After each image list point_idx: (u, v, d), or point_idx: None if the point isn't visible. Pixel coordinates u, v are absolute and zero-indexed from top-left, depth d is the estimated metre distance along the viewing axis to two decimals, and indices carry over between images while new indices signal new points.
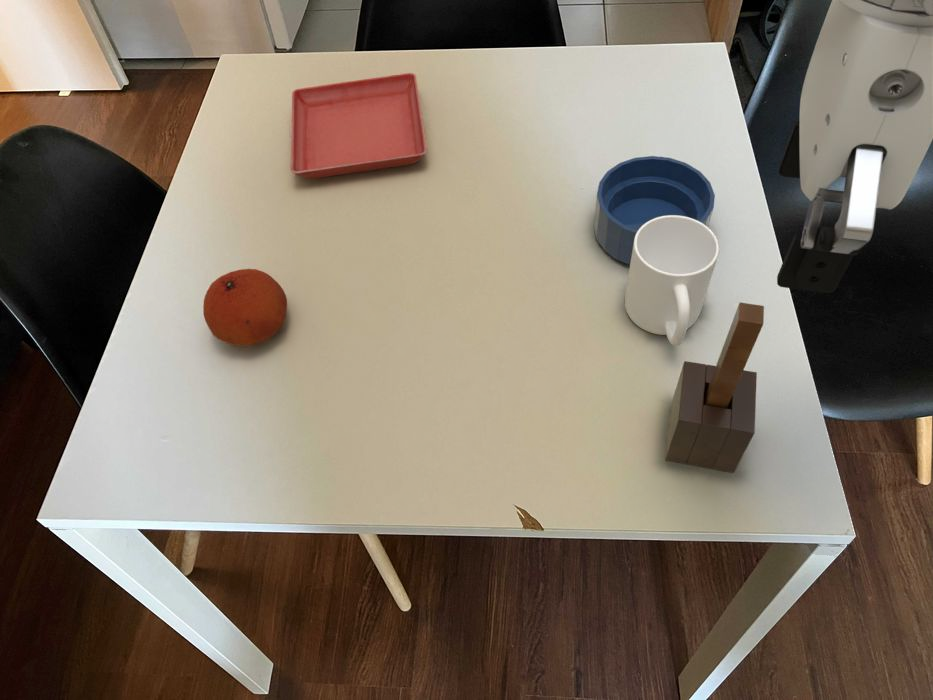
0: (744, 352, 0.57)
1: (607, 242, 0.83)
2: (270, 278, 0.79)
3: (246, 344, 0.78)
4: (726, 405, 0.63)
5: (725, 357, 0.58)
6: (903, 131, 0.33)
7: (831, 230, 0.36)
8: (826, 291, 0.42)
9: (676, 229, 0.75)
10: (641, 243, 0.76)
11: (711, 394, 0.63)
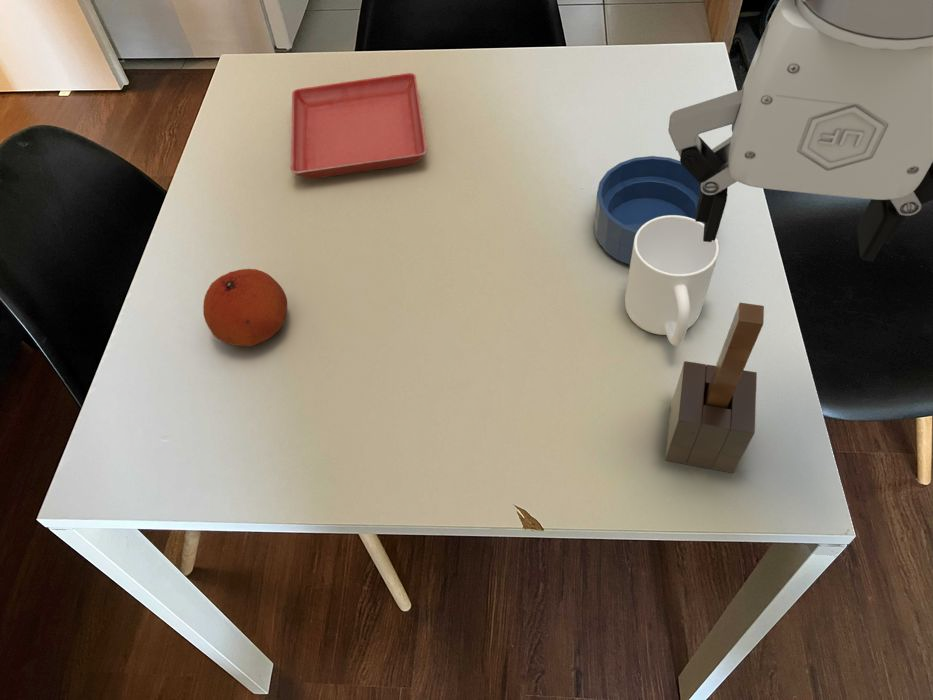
0: (744, 352, 0.57)
1: (607, 242, 0.83)
2: (270, 278, 0.79)
3: (246, 344, 0.78)
4: (726, 405, 0.63)
5: (725, 357, 0.58)
6: (747, 88, 0.38)
7: None
8: (704, 239, 0.47)
9: (676, 228, 0.75)
10: (640, 243, 0.76)
11: (711, 394, 0.63)
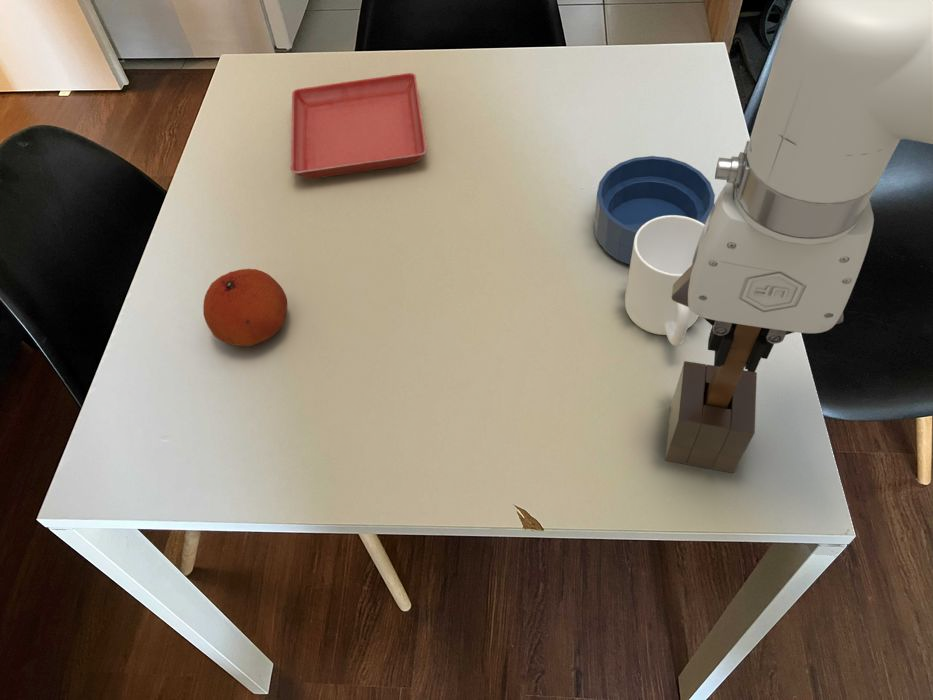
0: (744, 352, 0.57)
1: (607, 242, 0.83)
2: (270, 278, 0.79)
3: (246, 344, 0.78)
4: (726, 405, 0.63)
5: None
6: (699, 249, 0.49)
7: None
8: (715, 364, 0.58)
9: (676, 228, 0.75)
10: (640, 243, 0.76)
11: (711, 394, 0.63)
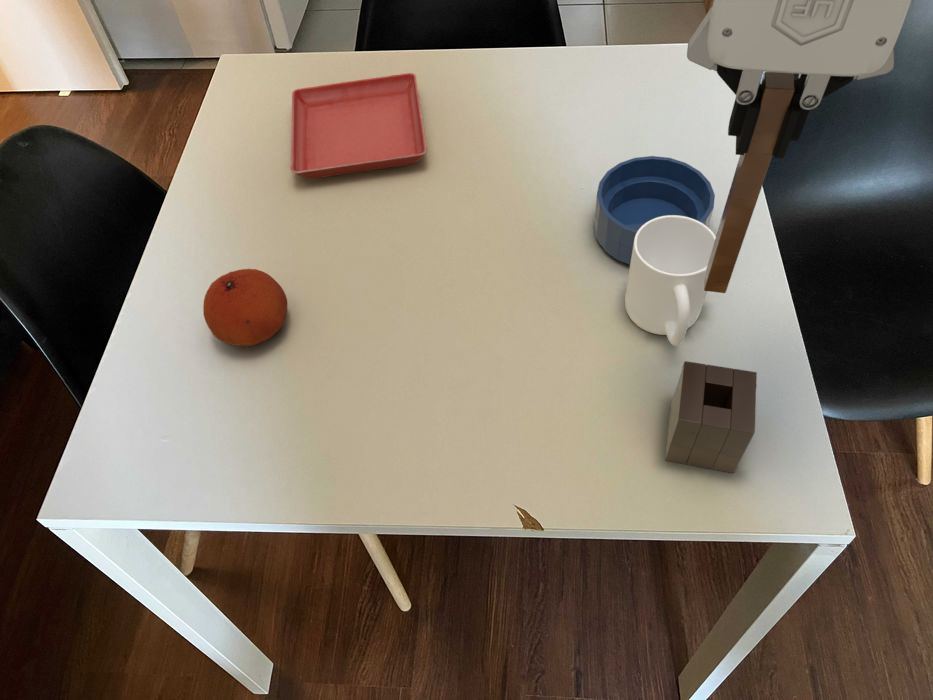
0: (770, 138, 0.48)
1: (607, 242, 0.83)
2: (270, 278, 0.79)
3: (246, 344, 0.78)
4: (746, 226, 0.55)
5: None
6: None
7: None
8: (736, 153, 0.50)
9: (676, 228, 0.75)
10: (641, 243, 0.76)
11: (729, 211, 0.54)
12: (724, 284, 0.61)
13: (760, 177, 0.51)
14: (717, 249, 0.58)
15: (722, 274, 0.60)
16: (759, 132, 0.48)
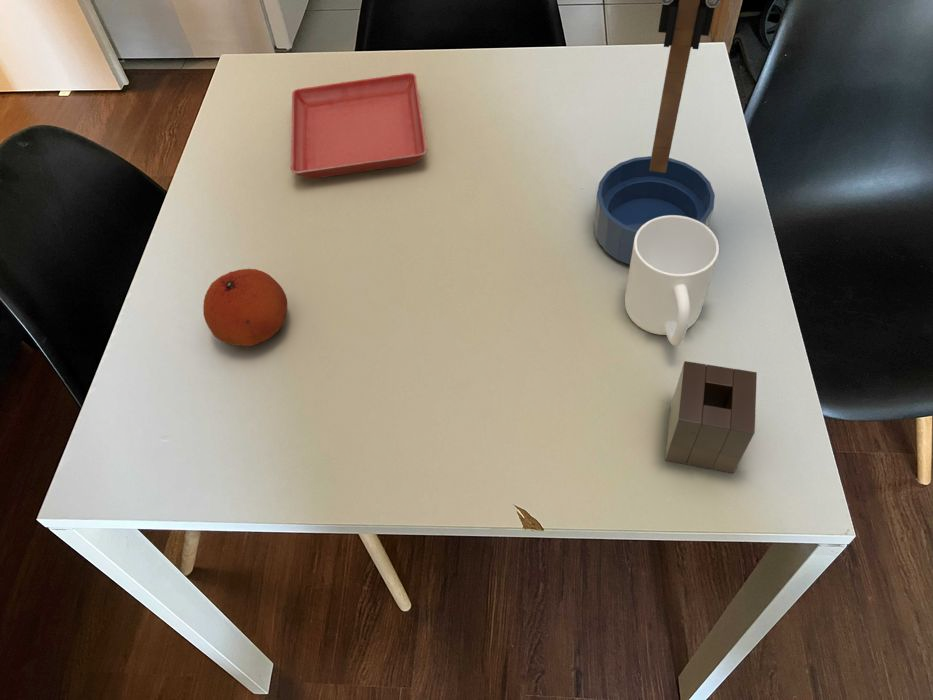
0: (688, 32, 0.65)
1: (607, 242, 0.83)
2: (270, 278, 0.79)
3: (246, 344, 0.78)
4: (676, 110, 0.71)
5: (672, 43, 0.66)
6: None
7: None
8: (664, 46, 0.66)
9: (676, 228, 0.75)
10: (641, 243, 0.76)
11: (663, 97, 0.71)
12: (664, 164, 0.77)
13: (683, 66, 0.67)
14: (656, 132, 0.74)
15: (662, 155, 0.76)
16: (679, 27, 0.65)
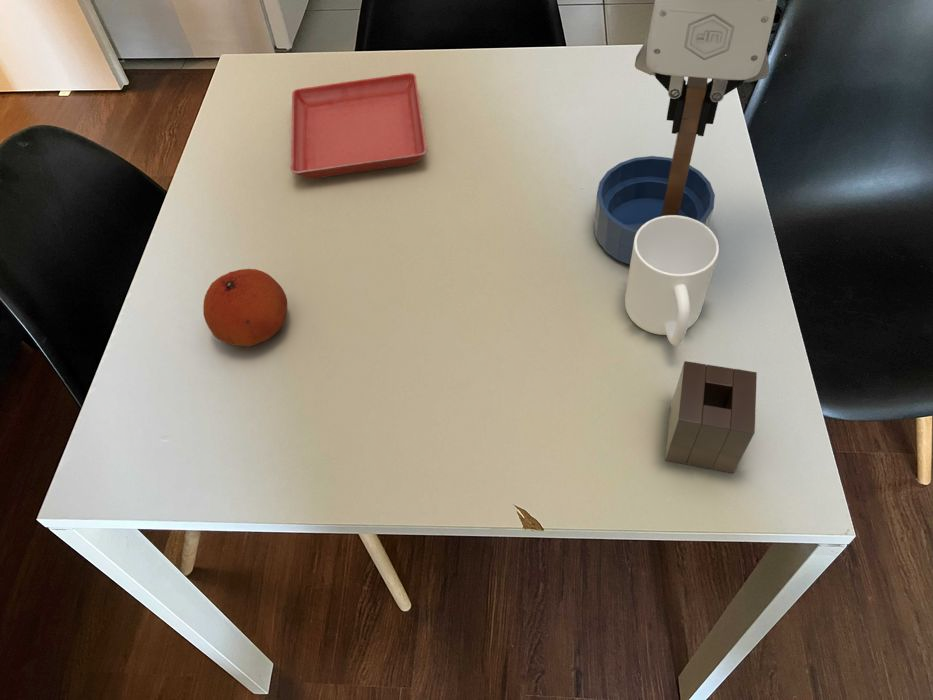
0: (693, 122, 0.71)
1: (607, 242, 0.83)
2: (270, 278, 0.79)
3: (246, 344, 0.78)
4: (683, 186, 0.77)
5: (679, 130, 0.72)
6: None
7: None
8: (672, 132, 0.72)
9: (676, 228, 0.75)
10: (641, 243, 0.76)
11: (670, 174, 0.77)
12: None
13: (689, 149, 0.73)
14: (664, 203, 0.80)
15: None
16: (686, 117, 0.71)
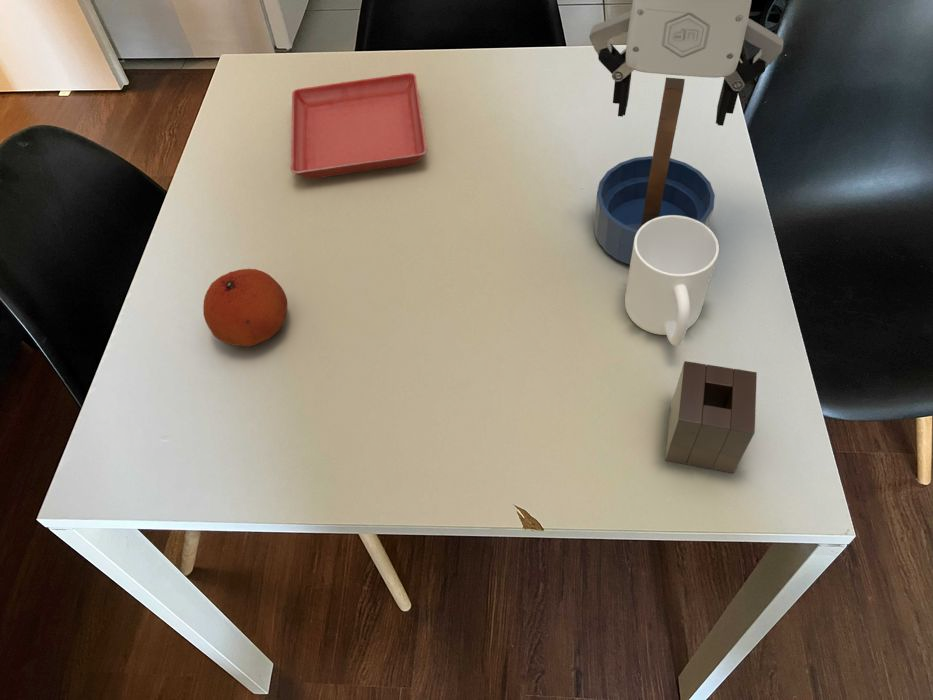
0: (671, 122, 0.72)
1: (607, 242, 0.83)
2: (270, 278, 0.79)
3: (246, 344, 0.78)
4: (663, 184, 0.79)
5: (658, 130, 0.74)
6: None
7: None
8: None
9: (676, 228, 0.75)
10: (640, 243, 0.76)
11: (650, 173, 0.78)
12: None
13: (668, 149, 0.75)
14: (645, 201, 0.82)
15: None
16: (664, 117, 0.72)
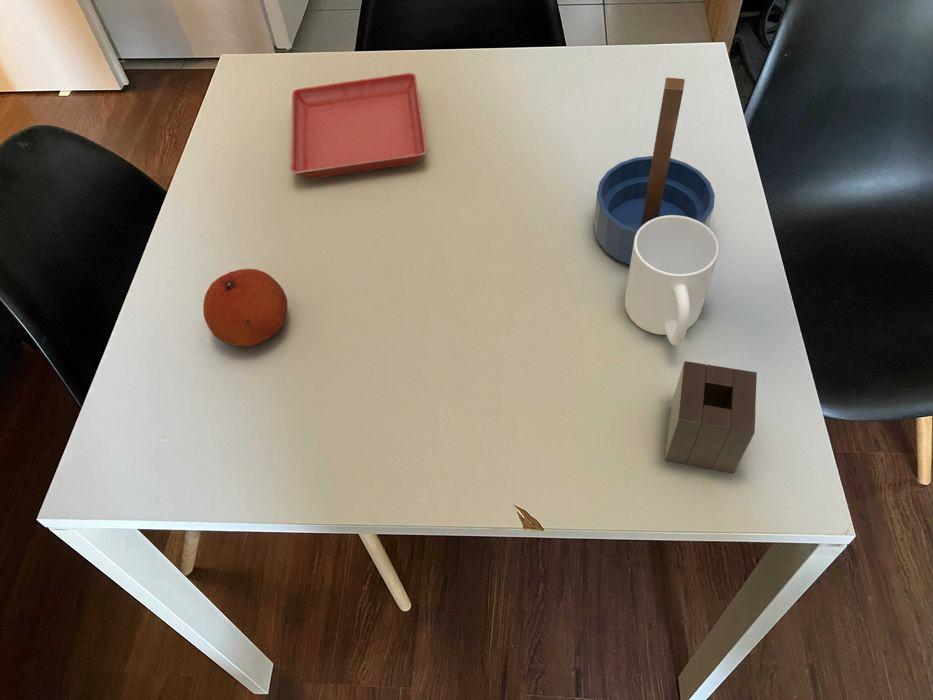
0: (671, 122, 0.72)
1: (607, 242, 0.83)
2: (270, 278, 0.79)
3: (246, 344, 0.78)
4: (663, 184, 0.79)
5: (658, 130, 0.74)
6: None
7: None
8: None
9: (676, 228, 0.75)
10: (641, 243, 0.76)
11: (650, 173, 0.78)
12: None
13: (668, 149, 0.75)
14: (645, 201, 0.82)
15: None
16: (664, 117, 0.72)
